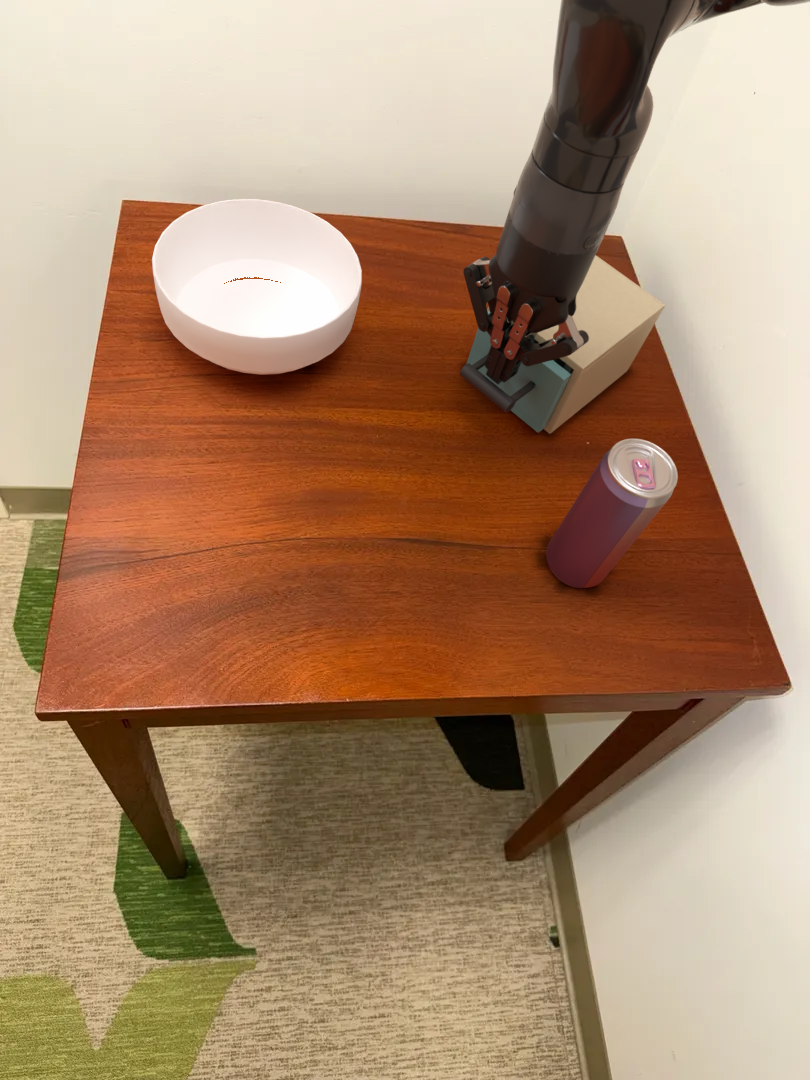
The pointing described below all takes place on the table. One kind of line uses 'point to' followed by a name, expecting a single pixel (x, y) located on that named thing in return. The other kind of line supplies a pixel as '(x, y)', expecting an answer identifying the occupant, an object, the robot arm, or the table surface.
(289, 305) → the bowl
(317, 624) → the table surface
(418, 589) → the table surface
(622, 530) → the beverage can
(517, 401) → the drawer
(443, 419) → the table surface
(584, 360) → the beige box
